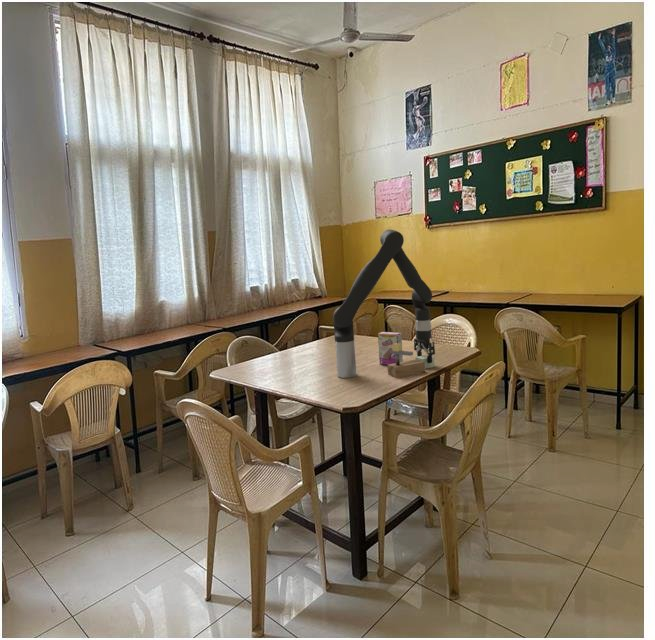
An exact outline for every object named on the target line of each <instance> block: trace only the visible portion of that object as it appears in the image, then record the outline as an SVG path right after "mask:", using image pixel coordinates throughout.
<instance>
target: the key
mask: <svg viewBox="0 0 655 640" xmlns="http://www.w3.org/2000/svg"><path fill="white" fill-rule="evenodd" d="M390 353H391V354H395V358H396V365H400V360H399V355H402V356H409V357H410V356H413V355H414V351H410V350H409V351H408V350H403V347H402V348H401V344H398V343H394V344H392V350H391V351H390Z"/></svg>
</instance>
